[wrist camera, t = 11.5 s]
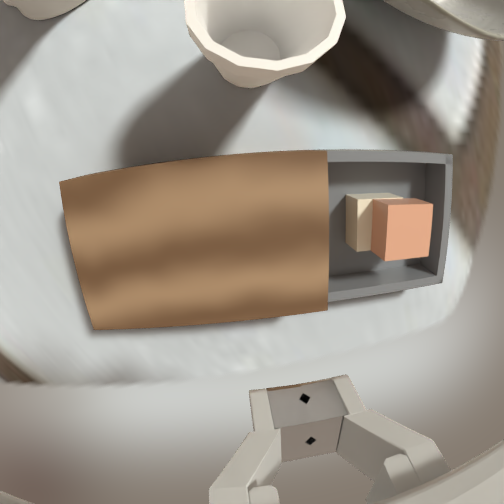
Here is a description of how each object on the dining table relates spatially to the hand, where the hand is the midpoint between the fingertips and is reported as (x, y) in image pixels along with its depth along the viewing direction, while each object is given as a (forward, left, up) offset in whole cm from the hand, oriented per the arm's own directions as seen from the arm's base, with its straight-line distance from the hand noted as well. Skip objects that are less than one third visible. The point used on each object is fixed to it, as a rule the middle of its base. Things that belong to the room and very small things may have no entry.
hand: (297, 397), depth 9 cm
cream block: (0, +13, -19) cm, 23 cm away
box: (0, +14, -23) cm, 27 cm away
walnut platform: (0, -4, -23) cm, 24 cm away
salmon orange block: (0, +14, -19) cm, 24 cm away
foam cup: (-16, +2, -23) cm, 29 cm away
